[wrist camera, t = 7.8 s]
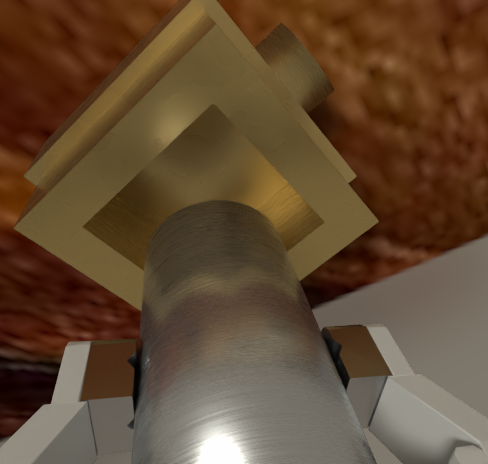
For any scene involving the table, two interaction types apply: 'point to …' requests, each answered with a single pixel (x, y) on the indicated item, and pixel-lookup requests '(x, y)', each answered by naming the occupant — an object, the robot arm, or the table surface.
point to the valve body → (193, 150)
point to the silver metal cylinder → (234, 351)
